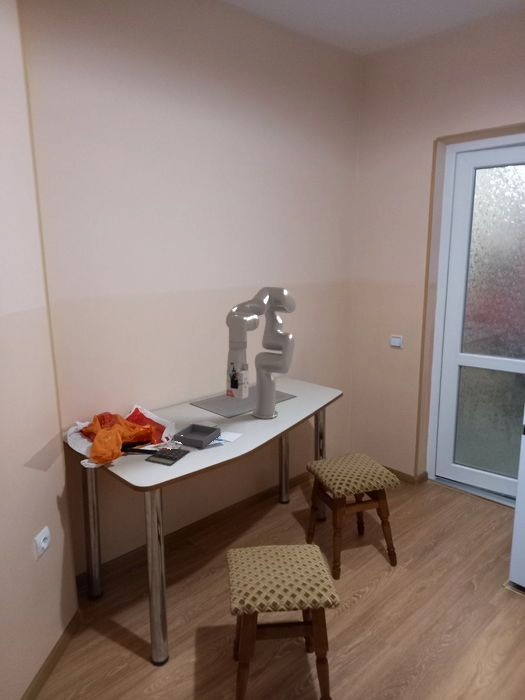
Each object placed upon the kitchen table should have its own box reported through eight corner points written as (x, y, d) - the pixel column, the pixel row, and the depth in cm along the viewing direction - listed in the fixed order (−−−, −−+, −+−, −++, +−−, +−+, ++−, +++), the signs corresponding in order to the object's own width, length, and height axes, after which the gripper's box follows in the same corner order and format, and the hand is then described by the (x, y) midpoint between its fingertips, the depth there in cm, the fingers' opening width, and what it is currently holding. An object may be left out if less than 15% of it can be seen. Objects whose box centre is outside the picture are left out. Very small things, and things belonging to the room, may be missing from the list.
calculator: (190, 450, 204) (170, 464, 190) (190, 452, 204) (170, 467, 190) (165, 445, 208) (144, 459, 194) (165, 447, 208) (144, 461, 194)
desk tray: (192, 431, 226) (192, 423, 226) (220, 436, 221) (220, 428, 221) (173, 443, 212) (173, 435, 211) (202, 449, 207) (203, 440, 206)
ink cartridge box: (225, 396, 217) (225, 362, 213) (232, 393, 221) (232, 360, 218) (242, 399, 212) (242, 365, 209) (248, 396, 216) (249, 363, 213)
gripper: (238, 340, 221) (237, 380, 225) (220, 347, 205) (220, 390, 209) (254, 342, 218) (253, 382, 222) (237, 349, 203) (236, 393, 206)
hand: (237, 386), depth 216 cm, fingers closed on ink cartridge box, 5 cm apart
